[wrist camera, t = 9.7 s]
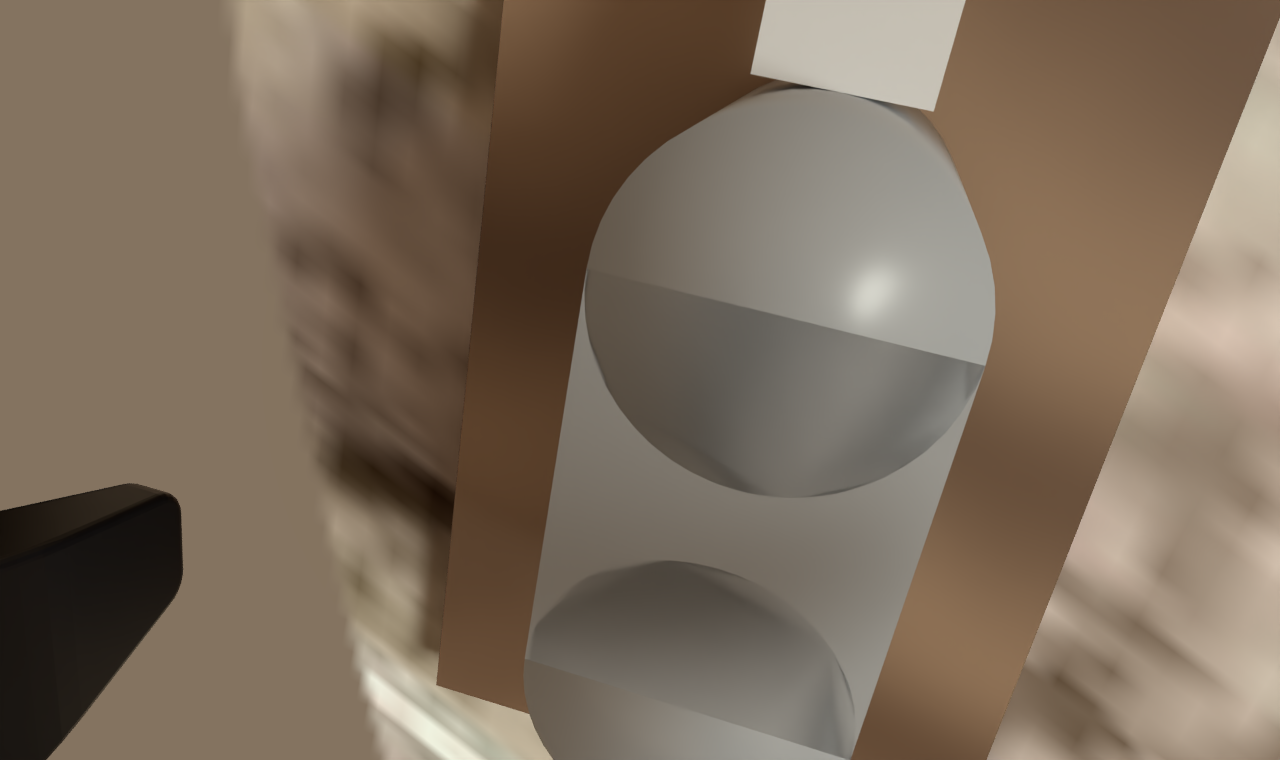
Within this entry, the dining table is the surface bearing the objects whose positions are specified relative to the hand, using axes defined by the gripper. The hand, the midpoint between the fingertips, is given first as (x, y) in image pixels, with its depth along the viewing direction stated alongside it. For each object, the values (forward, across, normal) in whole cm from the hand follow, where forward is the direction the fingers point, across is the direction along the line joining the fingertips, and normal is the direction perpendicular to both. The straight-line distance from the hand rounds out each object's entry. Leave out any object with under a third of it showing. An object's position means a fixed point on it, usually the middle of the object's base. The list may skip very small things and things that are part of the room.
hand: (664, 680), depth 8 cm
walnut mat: (+9, 0, 0) cm, 9 cm away
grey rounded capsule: (+8, 0, -1) cm, 8 cm away
